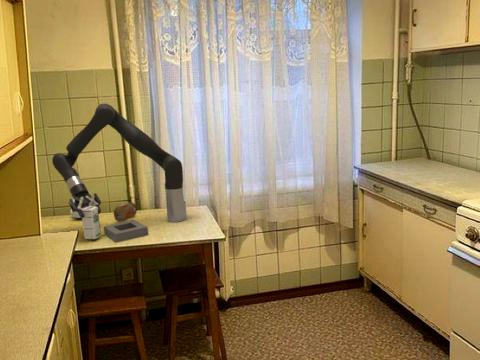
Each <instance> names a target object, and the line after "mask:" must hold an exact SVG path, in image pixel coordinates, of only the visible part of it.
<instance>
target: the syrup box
mask: <svg viewBox="0 0 480 360" xmlns="http://www.w3.org/2000/svg"><path fill="white" fill-rule="evenodd" d="M82 211H83V213H84V218H82V220H81V221H82V222H81V223H82V227H83V228H82V229H83V235H84V239H86V240H96V239H97V238H99V237H100V236H101V235H102V232H101V224H100V214H98V207H97V206H87V207H86V208H84V209H82Z"/></svg>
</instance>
